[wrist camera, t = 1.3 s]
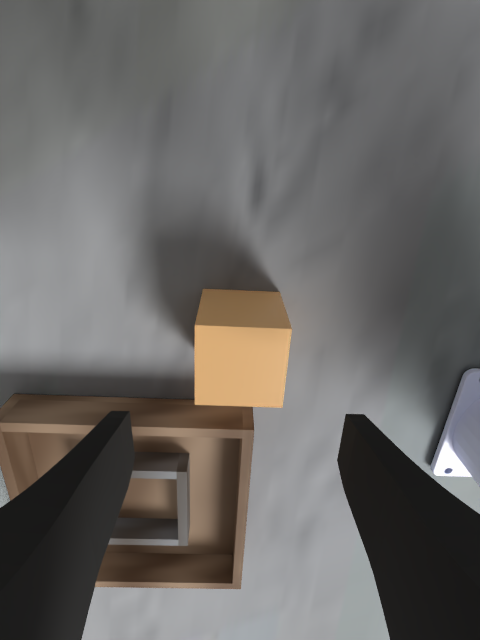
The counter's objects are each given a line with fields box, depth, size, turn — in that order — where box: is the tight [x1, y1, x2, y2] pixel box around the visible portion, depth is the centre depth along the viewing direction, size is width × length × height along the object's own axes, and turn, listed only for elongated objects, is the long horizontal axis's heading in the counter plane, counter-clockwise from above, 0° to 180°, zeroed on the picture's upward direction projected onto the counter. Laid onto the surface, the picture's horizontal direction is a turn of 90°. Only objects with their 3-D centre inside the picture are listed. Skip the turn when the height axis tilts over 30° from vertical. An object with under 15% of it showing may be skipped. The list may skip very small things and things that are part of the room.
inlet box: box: [0, 394, 254, 589], centre depth 24 cm, size 14×14×2 cm
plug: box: [195, 289, 292, 408], centre depth 18 cm, size 4×4×4 cm
